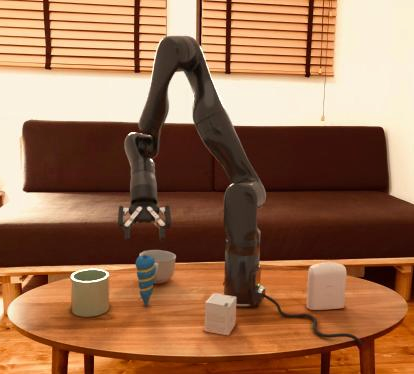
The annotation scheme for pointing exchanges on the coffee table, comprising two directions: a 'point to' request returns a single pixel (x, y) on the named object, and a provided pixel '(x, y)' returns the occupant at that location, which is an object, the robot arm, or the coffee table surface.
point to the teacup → (162, 264)
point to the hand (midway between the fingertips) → (145, 241)
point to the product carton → (220, 314)
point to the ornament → (145, 276)
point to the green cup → (89, 292)
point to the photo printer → (326, 286)
